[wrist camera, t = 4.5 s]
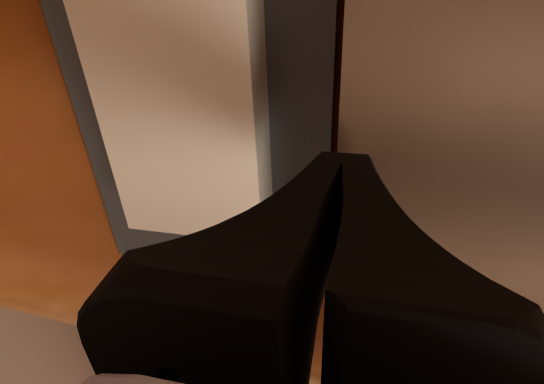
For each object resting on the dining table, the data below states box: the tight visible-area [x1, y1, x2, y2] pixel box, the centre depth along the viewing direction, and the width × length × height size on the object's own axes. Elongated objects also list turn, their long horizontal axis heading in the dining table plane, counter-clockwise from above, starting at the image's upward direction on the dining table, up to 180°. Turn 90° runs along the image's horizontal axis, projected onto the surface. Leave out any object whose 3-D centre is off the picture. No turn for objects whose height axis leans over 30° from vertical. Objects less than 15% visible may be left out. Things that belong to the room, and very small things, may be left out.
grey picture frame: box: [39, 0, 338, 254], centre depth 16 cm, size 16×11×1 cm
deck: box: [337, 0, 544, 313], centre depth 12 cm, size 14×10×4 cm
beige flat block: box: [63, 0, 273, 235], centre depth 15 cm, size 9×6×2 cm, turn 2°
